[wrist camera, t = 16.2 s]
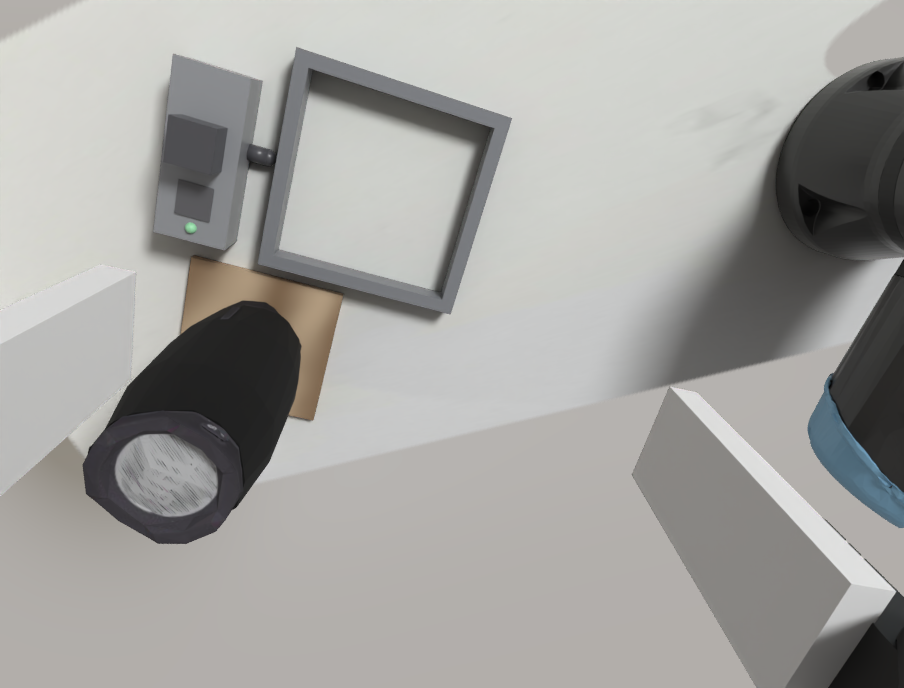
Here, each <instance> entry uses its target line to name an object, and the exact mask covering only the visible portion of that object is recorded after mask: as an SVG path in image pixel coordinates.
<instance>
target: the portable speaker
mask: <svg viewBox="0 0 904 688" xmlns="http://www.w3.org/2000/svg"><path fill="white" fill-rule="evenodd" d="M301 347H302V346H301V343H300V340H299V338H298V336H297V335H296V333H295V331H294V330H293V328H292V327H291V325H290V323H289V322H288V321H287V320H286V319H285V318H284V317H282V316H281V315H280V314H279V313H278V312H277V310H276V309H275V308H274V307H272V306H271V305H269V304H268V303H266V302H258V301H245V300H243V301H240V302H238V303H235V304H233V305H230V306H228V307H226V308H223V309H221V310H219V311H218V312H216V313H214V314H212V315H210V316H208V317H207V318H205V319H203V320H201V321H199V322H197V323H196V324H194V325H192V326H190V327H189V328H188V329H187V330H185V331H184V332H183V333H182V334H181V335H179V336H178V337H177V338H176V339H175V340H173V341H172V342H171V343H170V344H169V345H168V346H167V347H166V348H165V349H164V350H163V351H162V352H161V353H160V354H159V355H158V356H157V357H156V358H155V359H154V360H153V361H152V362H151V363H150V364H149V365H148V366H147V367H146V368H145V369H144V370H143V371H142V372H141V373H140V374H139V375H138V376H137V377H136V378H135V379H134V380H133V381H132V382H131V383H130V384H129V386H128V387H127V388H126V390H125V392H124V394H123V396H122V398H121V400H120V402H119V403H118V405H117V407H116V409H115V411H114V413H113V415H112V417H111V419H110V421H109V423H108V424H107V426H106V428H105V430H104V431H103V432H102V434H101V435H100V436H99V437H98V438H97V440H96V441H95V442H94V444H93V445H92V446H90V447H89V451H88V455H87V457H86V459H85V461H84V463H83V472H84V480H85V488H86V494H87V495H88V496H89V497H91V498H92V499H93V500H95V501H96V502H97V503H98V504H99V505H101V506H102V507H103V508H104V509H105V510H106V511H108V512H109V513H110V514H111V515H112V516H114V517H115V518H116V519H117V520H118V521H120V522H122V523H123V524H125V525H127V526H129V527H131V528H132V529H134V530H136V531H138V532H139V533H141V534H143V535H145V536H146V537H148V538H150V539H151V540H153V541H155V542H156V543H159V544H160V543H161V544H187V543H189V542H192V541H194V540H197V539H199V538H201V537H204V536H206V535H209V534H211V533H213V532H215V531H217V529H218V528H219V527H220V526H221V525H222V523H223V522H224V521H225V520H226V518H227V516H228V515H229V514H230V512H231V510H233V509H235V508H236V507H237V506H238V505H239V503H240V502H241V501H242V499H243V498H244V496H245V495H246V494H247V492H248V491H249V489H250V488H251V487H252V485H253V484H254V482H255V481H256V480H257V478H258V477H259V476H260V474H261V473H262V471H263V470H264V469H265V467H266V466H267V464H268V463H269V461H270V459H271V457H272V454H273V452H274V449H275V447H276V444H277V442H278V439H279V437H280V434H281V432H282V430H283V427H284V425H285V422H286V420H287V417H288V415H289V412H290V410H291V408H292V405H293V403H294V400H295V396H296V391H297V386H298V380H299V371H300V362H301Z"/></svg>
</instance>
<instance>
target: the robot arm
mask: <svg viewBox="0 0 904 688" xmlns="http://www.w3.org/2000/svg"><path fill="white" fill-rule="evenodd" d="M776 191H777V200H778V205H779V209H780V212H781V214H782V217H783V219H784V221H785V223H786V225H787V226H788V228H789V229H790V231H791V232H792V233H793V234H794V235H795V237H796V238H798V239H799V240H800V241H801V242H802V243H804V244H805V245H807V246H808V247H810V248H812V249H814V250H817V251H820V252H823V253H826V254H829V255H832V256H835V257H838V258H843V259H849V260H876V259H887V258H899V257H904V58H894V59H885V60H879V61H874V62H870V63H867V64H864V65H862V66H859V67H856V68H854V69H852V70H850V71H848V72H846V73H845V74H843V75H841V76H840V77H838V78H837V79H835V80H834V81H832V82H831V83H830V84H829V85H827V86H826V87H825V88H824V89H823V90H822V91H820V92H819V93H818V94H817V95H816V96H815V97H814V98H813V99H812V100H811V102H810V103H809V104H808V105H807V106H806V108H805V109H804V110H803V112H802V113H801V114H800V116H799V117H798V119H797V120H796V122H795V124H794V125H793V127H792V129H791V131H790V133H789V135H788V137H787V139H786V141H785V144H784V147H783V149H782V152H781V156H780V160H779V164H778V170H777V178H776ZM896 275H897V276H896ZM899 276H900V277H899ZM902 277H903V278H902ZM135 286H136V272H134V271H130V270H125V269H120V268H116V267H111V266H106V265H102V264H100V265H98V266H96V267H93V268H91V269H89V270H87V271H85V272H82V273H80V274H78V275H76V276H73V277H71V278H69V279H67V280H65V281H62V282H60V283H58V284H56V285H53V286H51V287H49V288H47V289H45V290H42V291H40V292H38V293H36V294H34V295H31V296H29V297H27V298H25V299H22V300H20V301H18V302H16V303H14V304H11V305H9V306H7V307H5V308H2V309H0V496H1V495H2V494H3V493H5V492H6V491H7V490H8V489H9V488H10V487H11V486H12V485H14V484H15V483H16V482H17V481H18V480H19V479H20V478H21V477H22V476H24V475H25V474H26V473H27V472H28V471H29V470H30V469H32V468H33V467H34V466H35V465H36V464H37V463H38V462H39V461H40V460H41V459H43V458H44V457H45V456H46V455H47V454H48V453H49V452H51V451H52V450H53V449H54V448H55V447H56V446H57V445H58V444H60V442H62V441H63V440H64V439H65V438H66V437H67V436H69V435H70V434H71V433H72V432H73V431H74V430H75V429H76V428H77V427H79V426H80V425H81V424H82V423H83V422H84V421H85V420H86V419H88V418H89V417H90V416H91V415H92V414H93V413H94V412H95V411H96V410H98V409H99V408H100V407H101V406H102V405H103V404H104V403H105V402H107V401H108V400H109V399H110V398H111V397H112V396H113V395H114V394H116V393H117V392H118V391H119V390H120V389H121V388H122V387H123V386H124V385H126V384H127V383H128V382H129V381H130V380H131V369H132V349H133V328H134V307H135ZM808 434H809V438H810V443H811V447H812V449H813V450H814V453H815V454H816V456H817V458H818V459H819V460H820V462H821V463H822V465H823V466H824V467H825V468H826V469H827V471H829V473H830V474H831V475H832V476H833V477H834V478H835V479H836V480H837V481H838V482H839V483H840V484H841V485H842V486H843V487H844V488H845V489H847V490H848V491H849V492H850V493H851V494H852V495H853V496H855V497H856V498H857V499H858V500H860V501H861V502H862V503H863V504H865V505H866V506H867V507H869V508H870V509H871V510H873V511H874V512H875V513H877V514H878V515H880V516H881V517H883V518H884V519H885V520H887V521H888V522H890V523H892V524H893V525H895V526H897V527H899V528H904V260H903V261H902V263H901V265H900V266H899V268H898V270H897V271H896V273H895V274H894V275H893V277H892V278H891V280H890V282H889V283H888V285H887V287H886V288H885V290H884V292H883V293H882V295H881V297H880V298H879V300H878V301H877V303H876V305H875V306H874V308H873V310H872V311H871V313H870V315H869V316H868V318H867V320H866V321H865V323H864V324H863V326H862V328H861V329H860V331H859V333H858V334H857V336H856V338H855V339H854V341H853V343H852V344H851V346H850V347H849V349H848V351H847V353H846V354H845V356H844V357H843V359H842V361H841V362H840V364H839V366H838V367H837V369H836V371H835V372H834V373H832V374H830V375H829V377H828V378H827V380H826V382H825V385H824V393H823V395H822V397H821V399H820V400H819V402H818V404H817V406H816V408H815V410H814V412H813V413H812V415H811V417H810V420H809V423H808ZM632 476H633V478H634V479H635V481H636V483H637V485H638V486H639V488H640V490H641V491H642V493H643V495H644V497H645V498H646V500H647V502H648V503H649V505H650V507H651V508H652V510H653V512H654V514H655V515H656V517H657V519H658V520H659V522H660V524H661V526H662V527H663V529H664V531H665V532H666V534H667V536H668V538H669V539H670V541H671V543H672V544H673V546H674V548H675V549H676V551H677V553H678V554H679V556H680V558H681V560H682V561H683V563H684V565H685V566H686V568H687V570H688V572H689V573H690V575H691V577H692V578H693V580H694V582H695V584H696V585H697V587H698V589H699V590H700V592H701V594H702V595H703V597H704V599H705V601H706V602H707V604H708V606H709V608H710V609H711V611H712V613H713V614H714V616H715V618H716V619H717V621H718V623H719V625H720V626H721V628H722V630H723V631H724V633H725V635H726V636H727V638H728V640H729V642H730V643H731V645H732V647H733V648H734V650H735V652H736V653H737V655H738V657H739V659H740V660H741V662H742V664H743V665H744V667H745V669H746V671H747V672H748V674H749V676H750V678H751V679H752V681H753V682H754V684H755V686H756V688H904V597H903V596H902V595H901V594H900V593H899V592H898V591H897V590H896V589H895V588H894V587H893V586H892V585H891V584H890V583H889V582H888V581H887V580H886V579H885V578H884V577H883V576H882V575H881V574H880V573H879V572H878V571H877V570H876V569H875V568H874V567H873V566H872V565H871V564H870V563H869V562H868V561H867V560H866V559H863V558H862V557H861V554H860V553H859V552H858V551H857V550H856V549H855V548H854V547H853V546H852V545H851V544H850V543H847V542H846V541H845V540H846V539H845V538H844V537H843V536H842V535H841V534H840V533H839V532H838V531H837V530H836V529H835V528H834V527H833V526H832V525H831V524H830V523H829V522H828V521H827V520H825V519H824V518H823V517H821V516H820V515H819V514H818V513H817V512H816V511H815V510H814V509H813V508H812V507H811V506H810V505H809V504H808V503H807V502H806V501H805V500H804V499H803V498H802V497H801V496H800V495H799V494H798V493H797V492H796V491H795V490H794V489H793V488H792V487H791V486H790V485H789V484H788V483H787V482H786V481H785V480H784V479H783V478H782V477H781V476H780V475H779V474H778V473H777V472H776V471H775V470H774V469H773V468H772V467H771V466H770V465H769V464H768V463H767V462H766V461H765V460H764V459H763V458H762V457H761V456H760V455H759V454H758V453H757V452H756V451H755V450H754V449H753V448H752V447H751V446H750V445H749V444H748V443H747V442H746V441H745V440H744V439H743V438H742V437H741V436H740V435H739V434H738V433H737V432H736V431H735V430H734V429H733V428H732V427H731V426H730V425H729V424H728V423H727V422H726V421H725V420H724V419H723V418H722V417H721V416H720V415H719V414H718V413H717V412H716V411H715V410H714V409H713V408H712V407H711V406H710V405H709V404H708V403H707V402H706V401H705V400H704V399H703V398H702V397H701V396H700V395H699V394H698V393H697V392H694V391H689V390H684V389H679V388H675V387H669V389H668V391H667V394H666V396H665V399H664V401H663V403H662V405H661V408H660V410H659V413H658V415H657V417H656V420H655V422H654V425H653V427H652V429H651V431H650V434H649V436H648V438H647V441H646V443H645V445H644V448H643V450H642V453H641V455H640V457H639V459H638V462H637V464H636V466H635V469H634V472H633V474H632Z"/></svg>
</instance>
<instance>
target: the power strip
mask: <svg viewBox="0 0 904 688" xmlns="http://www.w3.org/2000/svg"><path fill="white" fill-rule="evenodd" d="M262 82H263V81H261V80H258V79H255V78H251V77H248V76H245V75H242V74H239V73H236V72H232V71H229V70H226V69H223V68H220V67H217V66H214V65H210V64H207V63H204V62H201V61H198V60H195V59H191V58H188V57H184V56H180V55H176V54H173V58H172V67H171V76H170V85H169V94H168V103H167V112H166V121H165V130H164V139H163V149H162V158H161V167H160V176H159V185H158V194H157V203H156V212H155V221H154V230H153V232H156V233H160V234H164V235H167V236H171V237H175V238H179V239H183V240H186V241H190V242H194V243H198V244H202V245H206V246H209V247H213V248H217V249H221V250H226V249H227V248H228V247H230V246H231V245H232V244H234V243H235V242H236V241H237V235H238V229H239V223H240V217H241V211H242V205H243V199H244V192H245V186H246V180H247V174H248V168H249V162H250V161H248V160H247V150H248V147H249V145H250V144H252V143H253V137H254V131H255V125H256V119H257V113H258V107H259V101H260V95H261V88H262Z"/></svg>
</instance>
